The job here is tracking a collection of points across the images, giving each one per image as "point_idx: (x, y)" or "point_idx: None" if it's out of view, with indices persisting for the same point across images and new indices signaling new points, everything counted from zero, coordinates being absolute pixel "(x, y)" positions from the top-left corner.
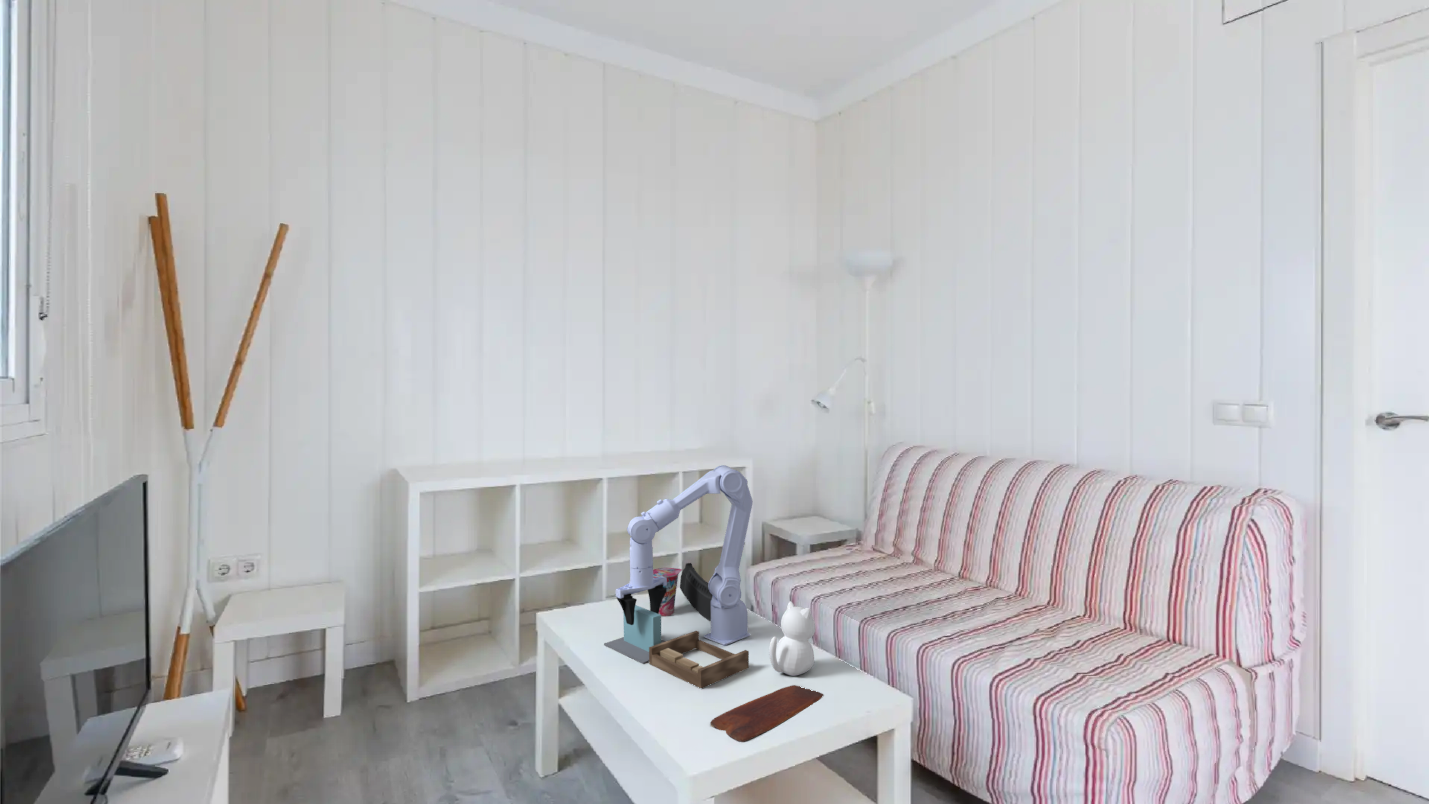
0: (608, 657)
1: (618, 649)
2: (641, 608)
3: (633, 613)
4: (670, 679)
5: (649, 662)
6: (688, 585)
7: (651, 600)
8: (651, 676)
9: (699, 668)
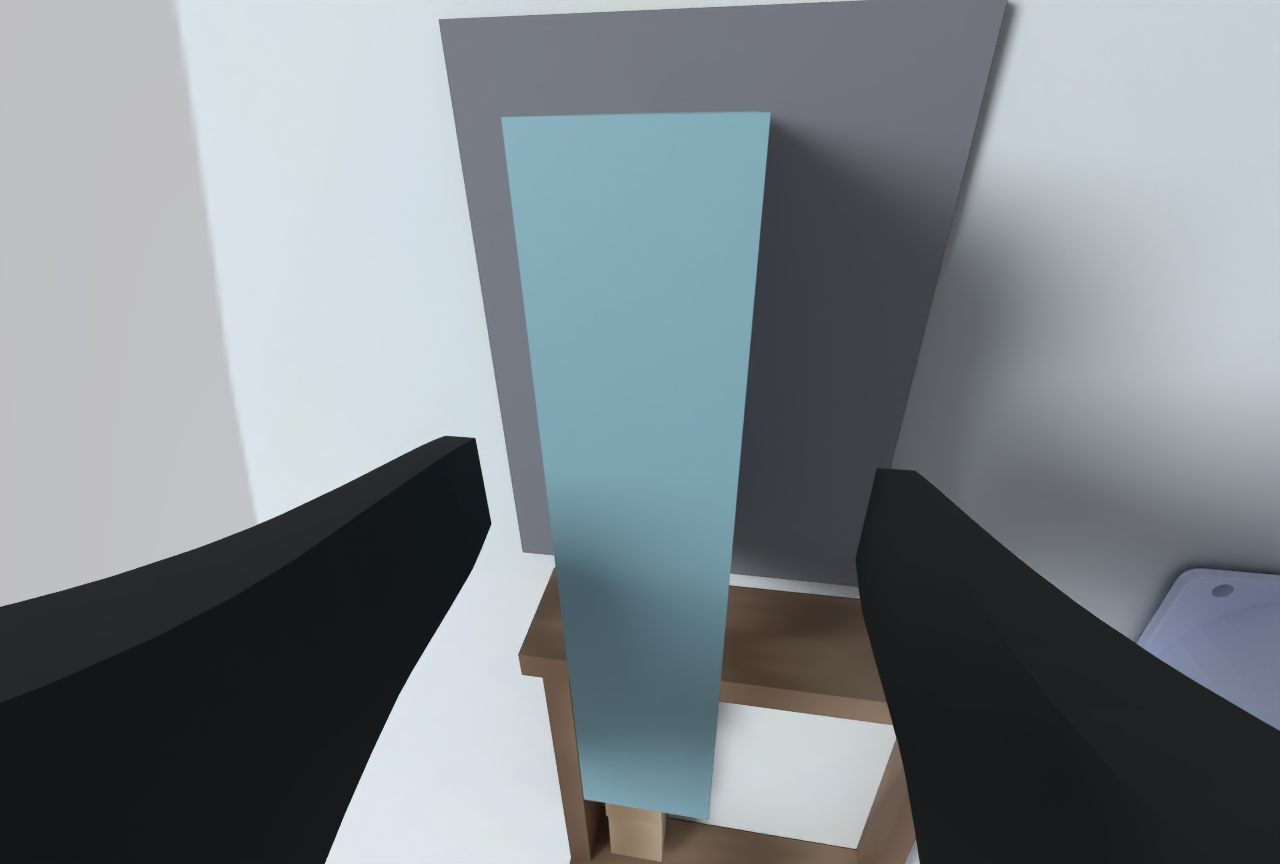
0: (381, 307)
1: (490, 271)
2: (691, 539)
3: (402, 663)
4: (539, 715)
5: (551, 577)
6: None
7: (966, 665)
8: (484, 650)
9: (637, 830)
